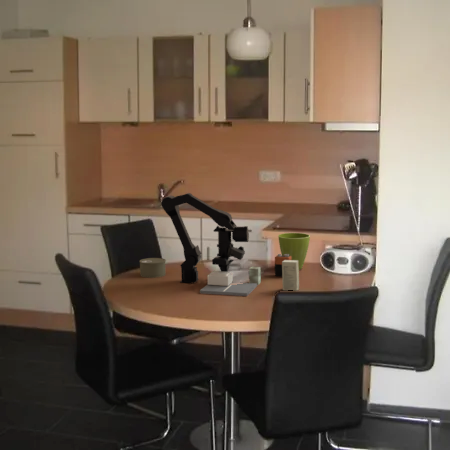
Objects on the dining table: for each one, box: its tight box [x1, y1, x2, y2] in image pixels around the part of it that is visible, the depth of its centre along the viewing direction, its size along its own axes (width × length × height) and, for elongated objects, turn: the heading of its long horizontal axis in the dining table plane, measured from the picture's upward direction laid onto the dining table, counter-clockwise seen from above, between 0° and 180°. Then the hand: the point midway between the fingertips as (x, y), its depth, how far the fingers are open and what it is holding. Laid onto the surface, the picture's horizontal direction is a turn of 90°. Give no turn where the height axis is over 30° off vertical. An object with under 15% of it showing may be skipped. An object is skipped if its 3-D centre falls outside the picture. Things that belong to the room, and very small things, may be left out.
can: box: [139, 257, 167, 279], centre depth 310 cm, size 12×12×7 cm
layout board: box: [199, 282, 258, 297], centre depth 280 cm, size 20×17×1 cm
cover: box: [207, 270, 234, 286], centre depth 285 cm, size 9×7×5 cm
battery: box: [274, 253, 292, 278], centre depth 303 cm, size 4×7×10 cm, turn 68°
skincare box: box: [281, 260, 300, 292], centre depth 278 cm, size 6×4×12 cm
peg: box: [248, 266, 262, 286], centre depth 290 cm, size 4×4×7 cm
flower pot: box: [277, 232, 311, 271], centre depth 318 cm, size 15×15×16 cm
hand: (225, 276), depth 293 cm, fingers closed
